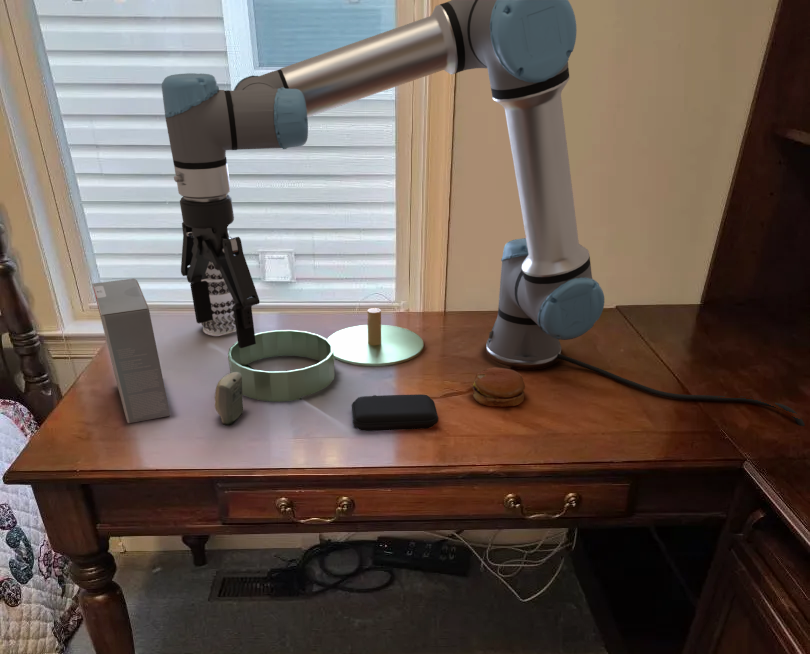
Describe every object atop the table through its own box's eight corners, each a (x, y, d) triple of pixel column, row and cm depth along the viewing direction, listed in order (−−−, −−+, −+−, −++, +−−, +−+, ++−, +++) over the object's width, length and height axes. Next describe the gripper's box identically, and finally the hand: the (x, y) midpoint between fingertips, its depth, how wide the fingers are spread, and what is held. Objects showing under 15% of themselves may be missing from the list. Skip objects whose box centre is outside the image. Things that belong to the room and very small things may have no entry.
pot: (355, 381, 145) (354, 353, 141) (267, 412, 134) (264, 382, 131) (297, 349, 157) (295, 322, 153) (213, 375, 146) (209, 347, 143)
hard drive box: (116, 387, 141) (91, 282, 130) (158, 380, 144) (137, 276, 132) (126, 424, 130) (100, 313, 118) (171, 416, 132) (150, 306, 121)
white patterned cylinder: (239, 337, 161) (224, 215, 147) (196, 336, 161) (177, 214, 147) (247, 321, 169) (233, 203, 154) (206, 320, 169) (188, 203, 154)
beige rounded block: (249, 425, 130) (244, 383, 125) (218, 429, 129) (212, 386, 124) (245, 410, 135) (240, 368, 130) (215, 413, 133) (209, 372, 129)
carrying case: (432, 403, 137) (351, 405, 136) (432, 387, 136) (350, 390, 135) (439, 431, 129) (353, 435, 128) (440, 416, 127) (352, 419, 126)
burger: (532, 405, 137) (535, 381, 134) (485, 412, 135) (487, 388, 132) (509, 382, 145) (511, 359, 142) (464, 389, 142) (465, 366, 140)
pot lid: (443, 351, 157) (445, 312, 152) (366, 378, 146) (365, 338, 141) (381, 322, 169) (381, 286, 164) (306, 345, 158) (303, 307, 153)
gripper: (143, 184, 116) (168, 316, 129) (225, 217, 101) (245, 363, 114) (187, 177, 120) (208, 306, 133) (273, 207, 105) (287, 350, 118)
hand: (225, 333), depth 123 cm, fingers open, 13 cm apart
